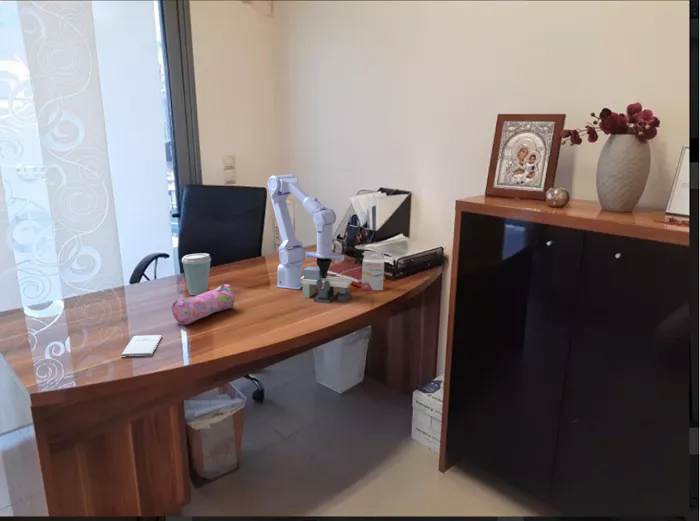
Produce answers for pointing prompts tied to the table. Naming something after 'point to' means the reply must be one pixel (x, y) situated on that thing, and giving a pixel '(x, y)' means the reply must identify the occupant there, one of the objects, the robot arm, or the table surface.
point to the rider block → (312, 273)
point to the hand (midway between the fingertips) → (324, 277)
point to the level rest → (308, 290)
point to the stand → (326, 291)
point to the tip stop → (344, 296)
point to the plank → (331, 282)
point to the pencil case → (203, 304)
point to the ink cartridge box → (373, 271)
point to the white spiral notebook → (142, 345)
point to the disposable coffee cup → (196, 272)
